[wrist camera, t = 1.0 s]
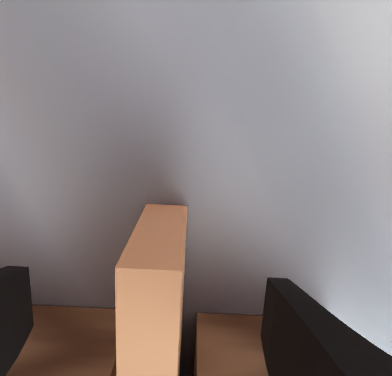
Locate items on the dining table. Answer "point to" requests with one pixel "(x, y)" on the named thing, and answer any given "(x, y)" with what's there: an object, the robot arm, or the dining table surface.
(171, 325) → the tall wooden plank
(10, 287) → the robot arm
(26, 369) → the wooden block
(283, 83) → the dining table surface
